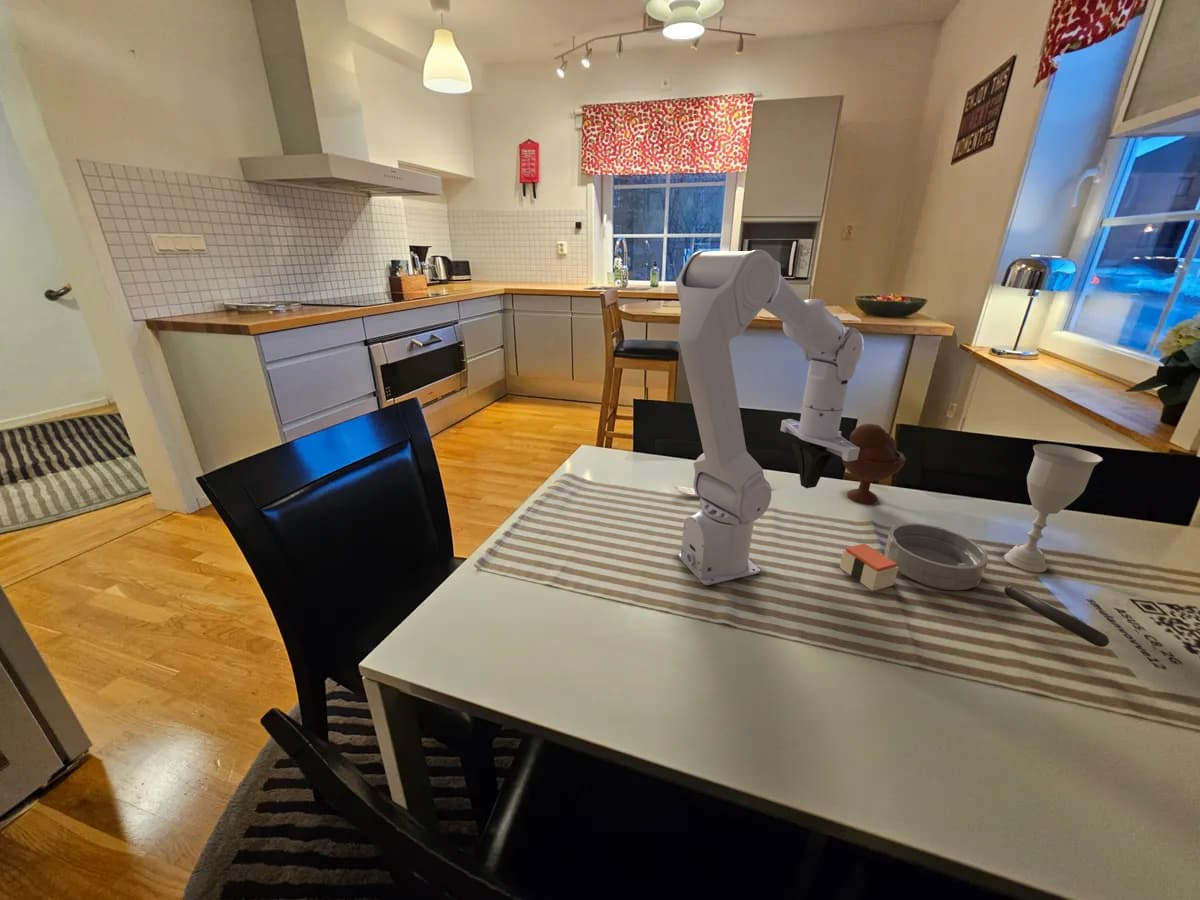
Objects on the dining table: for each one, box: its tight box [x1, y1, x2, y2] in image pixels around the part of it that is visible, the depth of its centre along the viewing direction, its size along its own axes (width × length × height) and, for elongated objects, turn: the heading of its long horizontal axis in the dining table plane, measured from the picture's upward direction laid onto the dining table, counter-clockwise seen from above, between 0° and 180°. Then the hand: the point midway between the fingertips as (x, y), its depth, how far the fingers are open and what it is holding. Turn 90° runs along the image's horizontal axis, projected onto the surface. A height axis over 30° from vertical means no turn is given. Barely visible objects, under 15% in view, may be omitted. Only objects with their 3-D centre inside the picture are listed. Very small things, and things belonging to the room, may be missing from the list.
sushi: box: [839, 543, 899, 592], centre depth 70 cm, size 4×6×4 cm
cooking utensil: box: [671, 483, 698, 497], centre depth 97 cm, size 3×20×2 cm, turn 103°
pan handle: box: [1004, 584, 1110, 648], centre depth 59 cm, size 2×11×2 cm, turn 20°
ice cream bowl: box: [841, 423, 907, 505], centre depth 92 cm, size 11×11×15 cm
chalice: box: [1003, 443, 1103, 573], centre depth 71 cm, size 7×7×18 cm
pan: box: [883, 522, 989, 591], centre depth 73 cm, size 12×12×4 cm
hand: (808, 485), depth 80 cm, fingers closed
